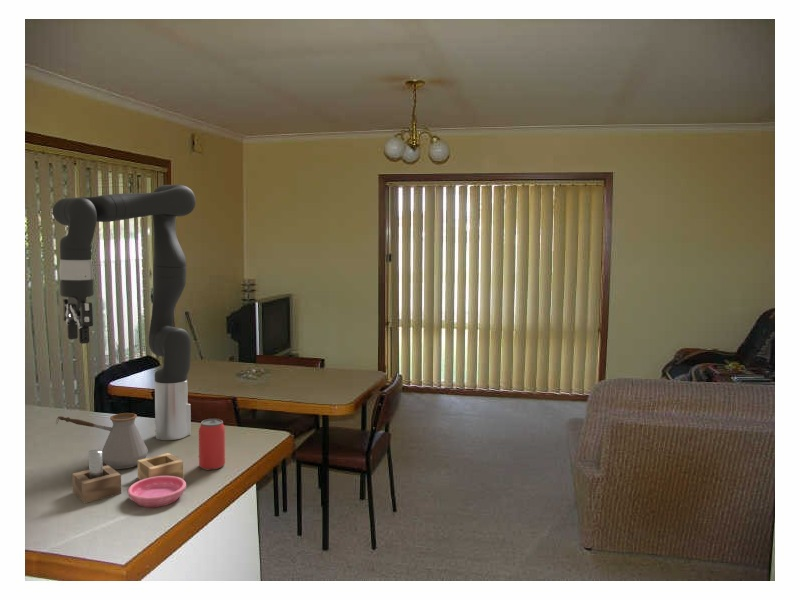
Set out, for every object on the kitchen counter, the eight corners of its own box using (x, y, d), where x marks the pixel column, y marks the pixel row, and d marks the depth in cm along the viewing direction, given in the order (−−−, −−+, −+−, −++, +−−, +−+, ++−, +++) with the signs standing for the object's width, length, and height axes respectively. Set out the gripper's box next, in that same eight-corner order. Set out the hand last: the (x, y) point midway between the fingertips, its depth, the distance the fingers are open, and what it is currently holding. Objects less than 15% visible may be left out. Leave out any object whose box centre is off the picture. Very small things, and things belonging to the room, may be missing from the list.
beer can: (230, 463, 162) (229, 419, 160) (214, 472, 155) (214, 426, 154) (209, 459, 164) (209, 417, 163) (193, 468, 158) (193, 423, 156)
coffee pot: (143, 453, 168) (142, 400, 166) (151, 466, 158) (151, 411, 157) (55, 467, 156) (53, 410, 154) (58, 482, 146) (57, 422, 145)
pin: (100, 489, 143) (99, 448, 142) (105, 492, 141) (104, 451, 140) (88, 492, 141) (87, 451, 140) (92, 496, 139) (91, 454, 138)
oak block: (168, 469, 156) (168, 452, 156) (183, 478, 151) (183, 461, 150) (137, 477, 150) (137, 460, 150) (151, 487, 145) (151, 469, 145)
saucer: (167, 513, 132) (167, 499, 132) (116, 507, 134) (116, 494, 134) (196, 490, 144) (195, 477, 144) (148, 485, 146) (148, 473, 146)
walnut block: (108, 482, 147) (107, 465, 146) (121, 493, 141) (120, 474, 141) (72, 492, 141) (72, 473, 141) (84, 503, 136) (84, 483, 135)
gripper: (102, 279, 150) (104, 343, 151) (82, 275, 160) (84, 336, 161) (69, 279, 144) (71, 346, 146) (51, 276, 154) (53, 338, 156)
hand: (78, 341), depth 154 cm, fingers open, 8 cm apart
